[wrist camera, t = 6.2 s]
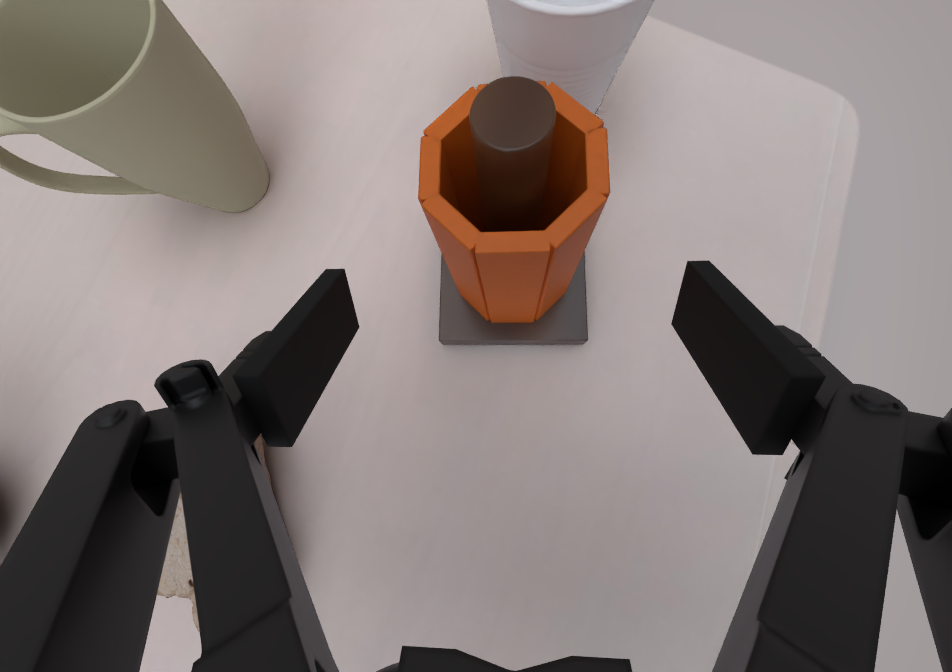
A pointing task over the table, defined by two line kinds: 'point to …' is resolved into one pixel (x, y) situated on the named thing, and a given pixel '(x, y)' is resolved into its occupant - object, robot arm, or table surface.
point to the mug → (124, 103)
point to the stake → (513, 212)
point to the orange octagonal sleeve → (514, 252)
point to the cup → (567, 41)
